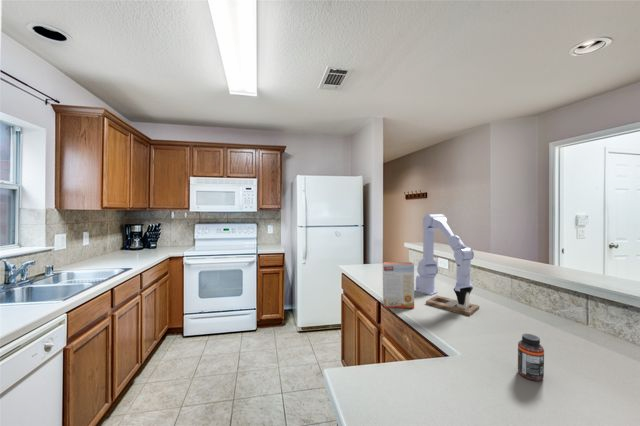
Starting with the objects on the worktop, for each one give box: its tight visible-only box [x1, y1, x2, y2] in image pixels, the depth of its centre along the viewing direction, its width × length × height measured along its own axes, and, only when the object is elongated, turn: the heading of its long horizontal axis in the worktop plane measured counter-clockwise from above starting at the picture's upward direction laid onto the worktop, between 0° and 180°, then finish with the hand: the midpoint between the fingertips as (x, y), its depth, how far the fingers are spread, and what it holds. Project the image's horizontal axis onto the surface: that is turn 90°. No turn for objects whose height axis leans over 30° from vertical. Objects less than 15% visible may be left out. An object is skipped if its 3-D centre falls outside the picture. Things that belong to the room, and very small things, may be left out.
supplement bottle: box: [517, 333, 545, 382], centre depth 79 cm, size 6×6×11 cm
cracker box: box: [382, 261, 415, 309], centre depth 133 cm, size 14×6×21 cm, turn 84°
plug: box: [456, 292, 470, 310], centre depth 128 cm, size 4×4×8 cm
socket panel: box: [425, 295, 480, 317], centre depth 132 cm, size 20×12×2 cm, turn 43°
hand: (463, 303), depth 128 cm, fingers closed on plug, 4 cm apart
